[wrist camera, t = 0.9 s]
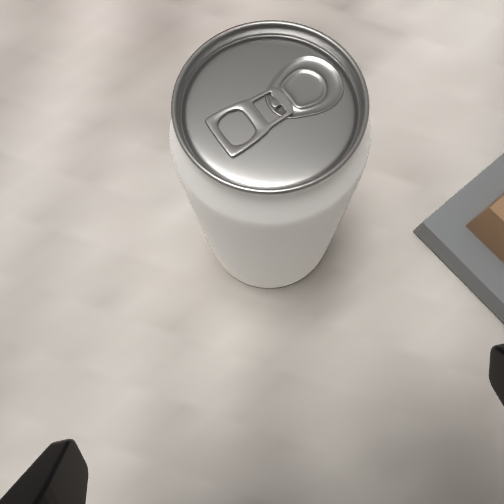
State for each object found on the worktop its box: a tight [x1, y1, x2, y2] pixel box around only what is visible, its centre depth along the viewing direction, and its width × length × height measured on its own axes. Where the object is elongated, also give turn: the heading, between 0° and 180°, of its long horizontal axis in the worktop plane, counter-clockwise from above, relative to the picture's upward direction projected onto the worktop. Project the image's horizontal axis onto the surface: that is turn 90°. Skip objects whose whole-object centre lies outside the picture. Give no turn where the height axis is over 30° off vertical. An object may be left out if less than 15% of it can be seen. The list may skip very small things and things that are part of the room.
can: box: [169, 20, 371, 288], centre depth 18 cm, size 6×6×12 cm
